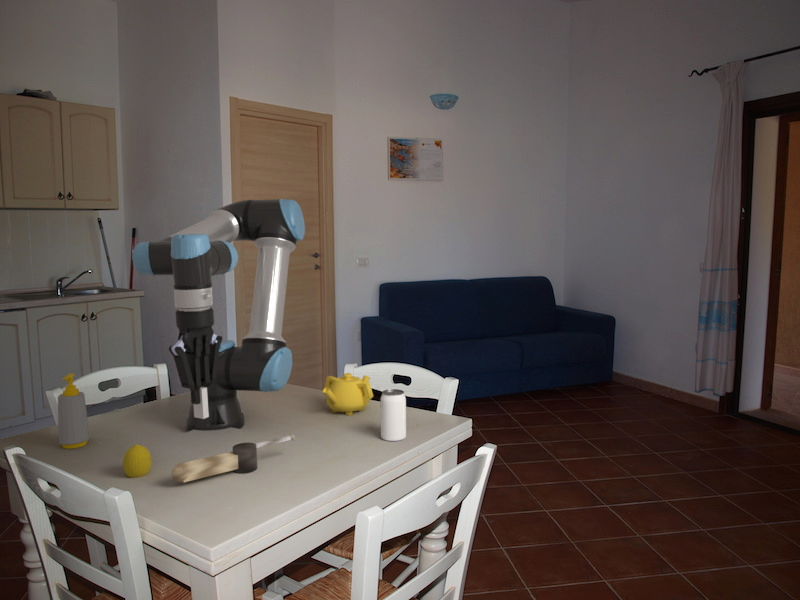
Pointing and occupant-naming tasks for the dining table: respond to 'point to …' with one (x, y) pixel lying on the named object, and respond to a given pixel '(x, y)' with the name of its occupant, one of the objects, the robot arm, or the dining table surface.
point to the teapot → (347, 393)
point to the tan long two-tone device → (224, 462)
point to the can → (393, 415)
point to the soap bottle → (72, 417)
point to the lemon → (137, 461)
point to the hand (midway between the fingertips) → (201, 416)
